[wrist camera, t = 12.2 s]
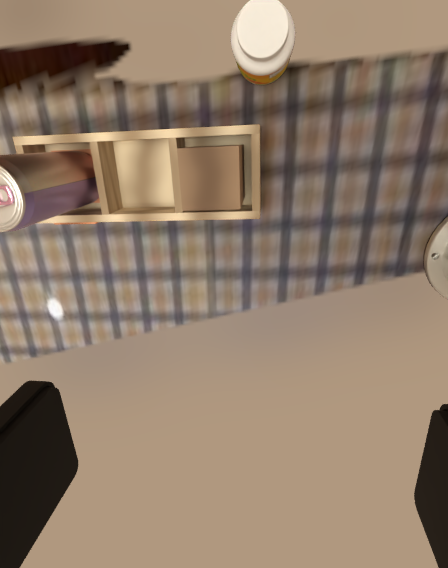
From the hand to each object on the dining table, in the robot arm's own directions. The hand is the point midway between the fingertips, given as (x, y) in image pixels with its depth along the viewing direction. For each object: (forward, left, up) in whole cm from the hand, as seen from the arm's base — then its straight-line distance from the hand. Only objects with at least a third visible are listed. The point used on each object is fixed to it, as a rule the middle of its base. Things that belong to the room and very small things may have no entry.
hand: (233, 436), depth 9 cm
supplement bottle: (-1, -15, -35) cm, 38 cm away
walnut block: (+4, -4, -34) cm, 34 cm away
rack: (+12, -4, -35) cm, 37 cm away
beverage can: (+20, -4, -34) cm, 40 cm away
